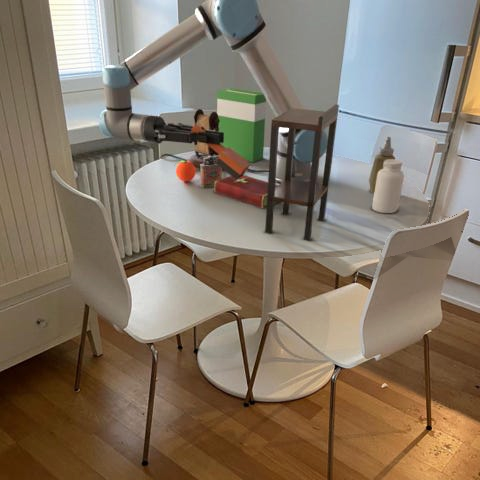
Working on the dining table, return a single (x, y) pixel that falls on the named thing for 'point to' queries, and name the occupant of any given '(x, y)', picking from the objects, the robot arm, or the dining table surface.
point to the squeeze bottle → (380, 162)
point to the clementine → (185, 171)
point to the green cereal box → (242, 121)
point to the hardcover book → (244, 190)
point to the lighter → (210, 172)
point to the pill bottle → (388, 187)
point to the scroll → (203, 148)
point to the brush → (227, 158)
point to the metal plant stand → (291, 188)
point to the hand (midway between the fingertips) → (221, 138)
